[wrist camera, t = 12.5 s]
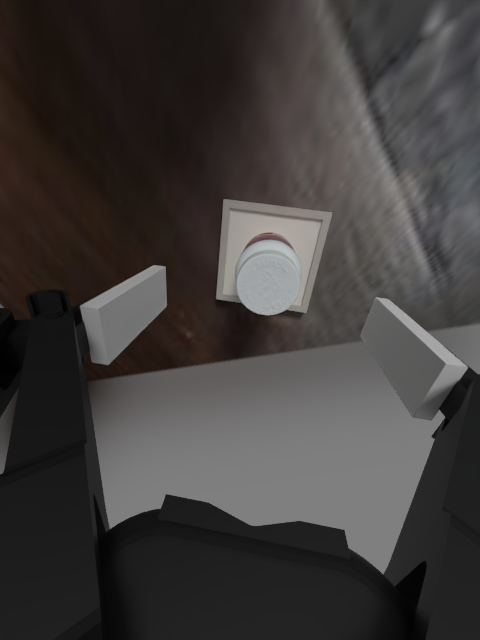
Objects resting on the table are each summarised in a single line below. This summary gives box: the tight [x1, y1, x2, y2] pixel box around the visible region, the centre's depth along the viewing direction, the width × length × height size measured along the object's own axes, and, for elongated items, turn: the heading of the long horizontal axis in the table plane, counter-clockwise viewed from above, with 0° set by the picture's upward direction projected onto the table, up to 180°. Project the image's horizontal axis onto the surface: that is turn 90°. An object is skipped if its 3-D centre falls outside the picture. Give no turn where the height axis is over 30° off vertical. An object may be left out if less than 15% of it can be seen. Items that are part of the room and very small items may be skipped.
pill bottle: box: [235, 232, 302, 315], centre depth 24 cm, size 6×6×11 cm
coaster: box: [216, 199, 332, 313], centre depth 29 cm, size 12×12×1 cm
